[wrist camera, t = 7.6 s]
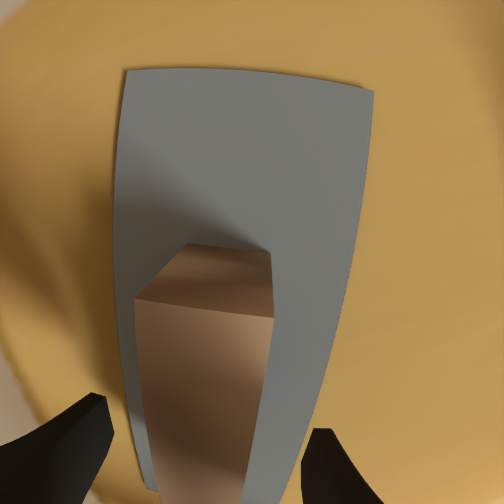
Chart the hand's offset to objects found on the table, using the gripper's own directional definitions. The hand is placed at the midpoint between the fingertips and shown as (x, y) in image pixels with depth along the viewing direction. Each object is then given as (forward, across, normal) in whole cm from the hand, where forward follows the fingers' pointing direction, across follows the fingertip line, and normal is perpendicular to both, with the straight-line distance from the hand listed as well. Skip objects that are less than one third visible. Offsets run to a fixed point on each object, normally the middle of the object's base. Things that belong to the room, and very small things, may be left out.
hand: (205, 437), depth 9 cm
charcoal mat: (+4, 0, 0) cm, 4 cm away
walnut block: (+4, 0, 0) cm, 4 cm away
